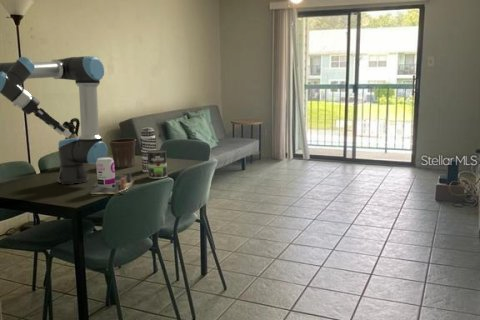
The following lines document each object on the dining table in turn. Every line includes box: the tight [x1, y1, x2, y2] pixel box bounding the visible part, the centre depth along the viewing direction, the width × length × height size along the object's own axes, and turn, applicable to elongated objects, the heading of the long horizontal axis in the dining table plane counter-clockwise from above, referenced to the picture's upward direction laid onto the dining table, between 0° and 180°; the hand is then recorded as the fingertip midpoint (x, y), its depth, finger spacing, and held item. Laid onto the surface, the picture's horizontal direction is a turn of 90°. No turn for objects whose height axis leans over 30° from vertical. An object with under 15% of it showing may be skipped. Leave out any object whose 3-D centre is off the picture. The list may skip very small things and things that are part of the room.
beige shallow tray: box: [89, 170, 136, 195], centre depth 236 cm, size 16×27×6 cm, turn 2°
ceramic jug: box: [61, 117, 81, 140], centre depth 291 cm, size 17×15×30 cm
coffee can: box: [147, 149, 168, 180], centre depth 259 cm, size 10×10×14 cm
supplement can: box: [95, 156, 116, 188], centre depth 228 cm, size 8×8×15 cm
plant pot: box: [108, 137, 137, 169], centre depth 290 cm, size 16×16×16 cm
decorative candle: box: [139, 126, 157, 173], centre depth 274 cm, size 9×9×25 cm
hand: (66, 134), depth 214 cm, fingers open, 13 cm apart
